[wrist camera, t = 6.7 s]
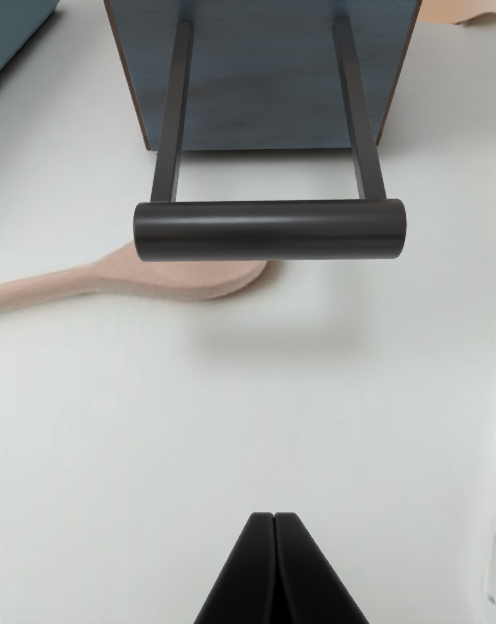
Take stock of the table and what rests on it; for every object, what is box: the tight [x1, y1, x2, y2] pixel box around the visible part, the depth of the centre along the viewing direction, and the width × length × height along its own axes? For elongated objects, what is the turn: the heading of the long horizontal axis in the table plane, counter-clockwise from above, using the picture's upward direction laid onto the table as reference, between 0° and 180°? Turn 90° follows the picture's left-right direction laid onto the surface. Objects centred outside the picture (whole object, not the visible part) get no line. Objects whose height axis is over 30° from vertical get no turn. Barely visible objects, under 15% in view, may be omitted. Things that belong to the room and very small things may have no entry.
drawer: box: [109, 0, 417, 262], centre depth 19 cm, size 27×11×8 cm, turn 0°
